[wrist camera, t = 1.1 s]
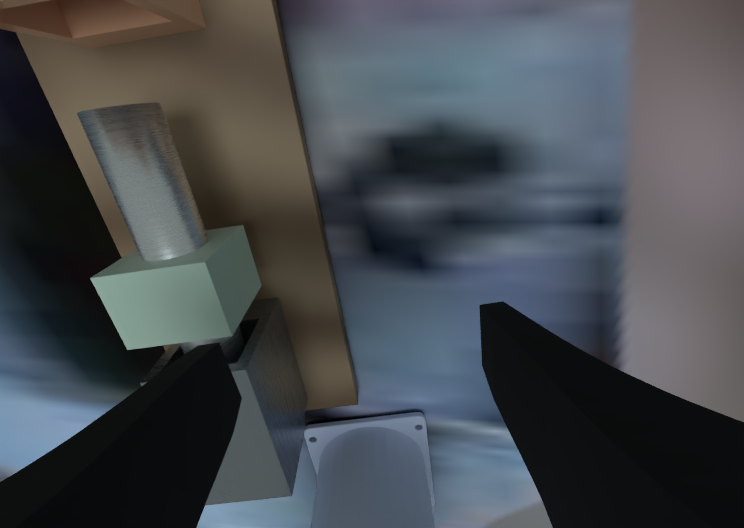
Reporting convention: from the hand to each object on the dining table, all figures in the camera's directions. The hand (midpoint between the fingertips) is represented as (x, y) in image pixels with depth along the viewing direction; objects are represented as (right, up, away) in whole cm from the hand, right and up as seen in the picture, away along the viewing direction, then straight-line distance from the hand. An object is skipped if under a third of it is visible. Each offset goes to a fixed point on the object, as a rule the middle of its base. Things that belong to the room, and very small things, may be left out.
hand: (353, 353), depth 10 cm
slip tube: (-7, +1, +7) cm, 10 cm away
